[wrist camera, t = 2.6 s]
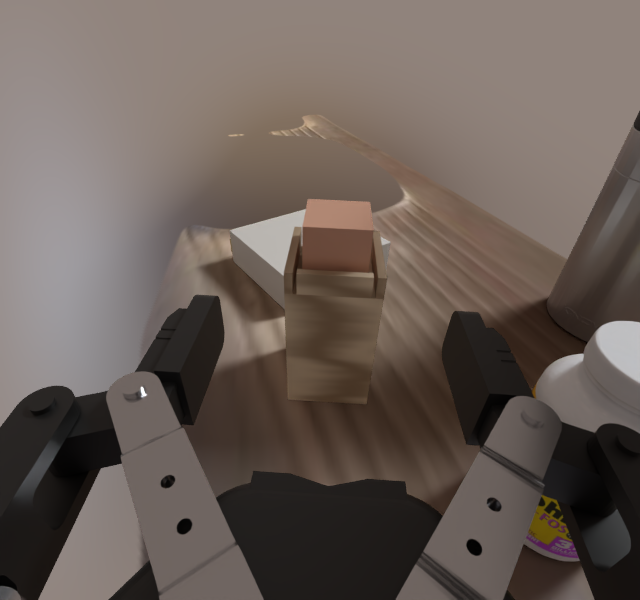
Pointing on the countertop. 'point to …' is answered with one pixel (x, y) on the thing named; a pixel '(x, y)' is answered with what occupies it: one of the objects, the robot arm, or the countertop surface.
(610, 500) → the robot arm
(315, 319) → the box
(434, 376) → the countertop surface
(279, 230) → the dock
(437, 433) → the countertop surface
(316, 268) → the block
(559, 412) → the supplement bottle
